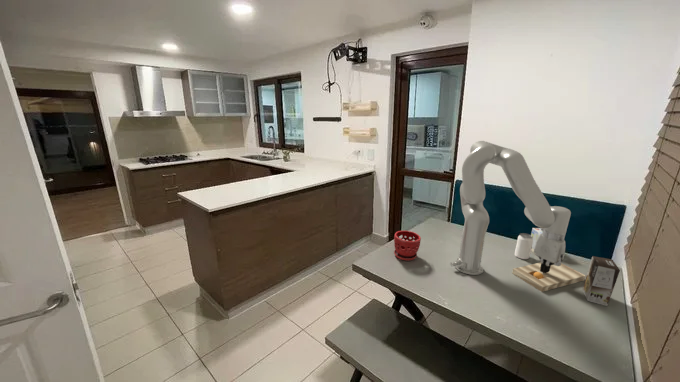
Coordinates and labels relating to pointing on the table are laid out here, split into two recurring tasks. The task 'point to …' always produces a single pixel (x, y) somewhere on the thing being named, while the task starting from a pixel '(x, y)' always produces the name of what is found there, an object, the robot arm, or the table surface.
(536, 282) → the board
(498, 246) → the table surface
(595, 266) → the coffee box
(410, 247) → the plant pot
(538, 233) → the light bulb box
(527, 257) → the can
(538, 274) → the ball
